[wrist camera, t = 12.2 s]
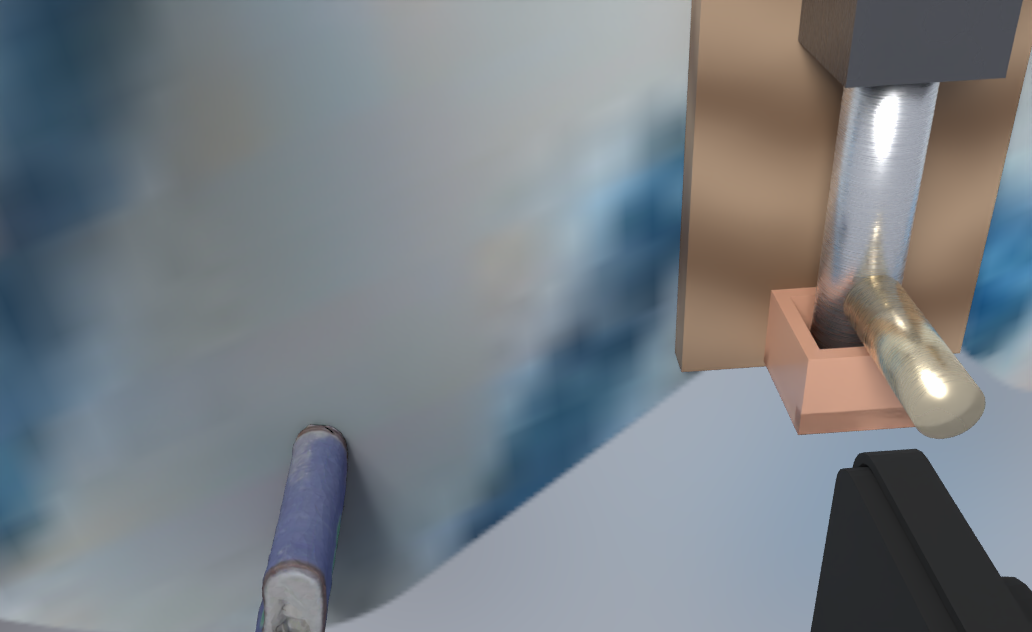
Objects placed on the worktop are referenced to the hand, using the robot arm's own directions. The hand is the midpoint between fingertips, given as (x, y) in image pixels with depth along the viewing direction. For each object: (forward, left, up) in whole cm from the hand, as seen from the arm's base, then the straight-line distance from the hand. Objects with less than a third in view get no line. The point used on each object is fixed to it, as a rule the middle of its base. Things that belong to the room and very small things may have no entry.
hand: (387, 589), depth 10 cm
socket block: (+15, +15, -27) cm, 34 cm away
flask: (+24, -8, -29) cm, 38 cm away
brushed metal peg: (+8, +15, -26) cm, 31 cm away
